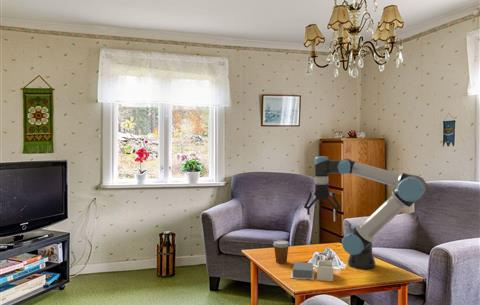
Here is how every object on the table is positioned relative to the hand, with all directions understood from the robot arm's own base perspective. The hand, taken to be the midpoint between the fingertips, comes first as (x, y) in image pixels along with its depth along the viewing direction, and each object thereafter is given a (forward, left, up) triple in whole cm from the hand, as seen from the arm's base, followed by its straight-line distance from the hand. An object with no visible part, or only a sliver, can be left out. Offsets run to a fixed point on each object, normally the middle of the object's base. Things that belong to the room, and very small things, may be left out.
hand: (322, 220), depth 231 cm
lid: (+10, +15, -26) cm, 32 cm away
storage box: (-2, +17, -26) cm, 32 cm away
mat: (+10, +15, -26) cm, 32 cm away
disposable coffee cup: (+24, -4, -27) cm, 36 cm away
